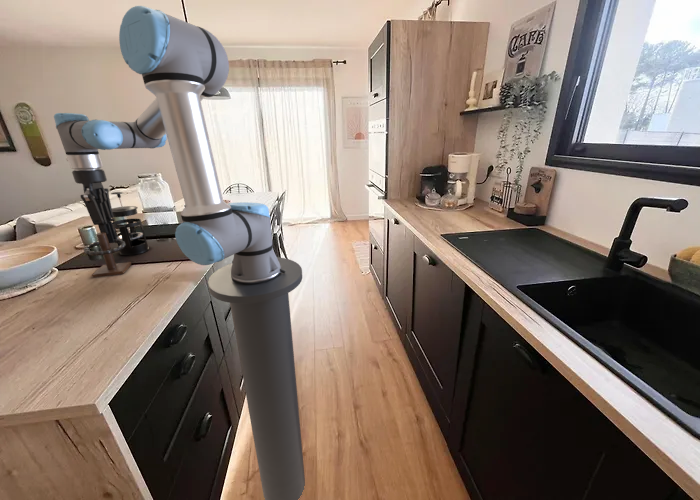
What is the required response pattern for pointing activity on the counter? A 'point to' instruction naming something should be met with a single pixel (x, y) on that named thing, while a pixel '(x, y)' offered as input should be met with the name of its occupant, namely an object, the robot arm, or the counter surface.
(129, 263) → the holder
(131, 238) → the french press
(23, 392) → the counter surface
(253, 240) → the robot arm
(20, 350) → the counter surface
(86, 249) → the ring
